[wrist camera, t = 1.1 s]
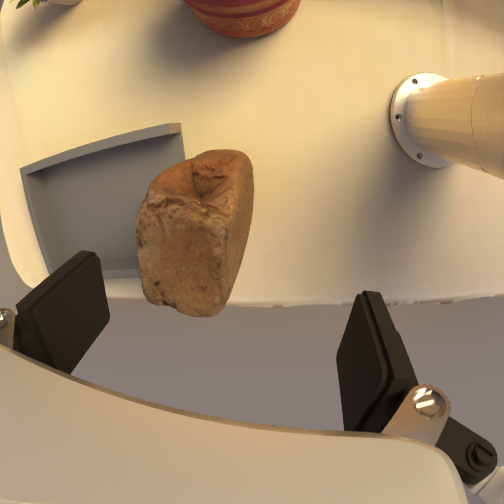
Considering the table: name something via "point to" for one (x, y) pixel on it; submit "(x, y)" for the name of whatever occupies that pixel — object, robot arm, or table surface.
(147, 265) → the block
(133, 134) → the tray
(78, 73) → the table surface
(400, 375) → the robot arm
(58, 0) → the house plant
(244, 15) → the canister
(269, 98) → the table surface
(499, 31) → the table surface
